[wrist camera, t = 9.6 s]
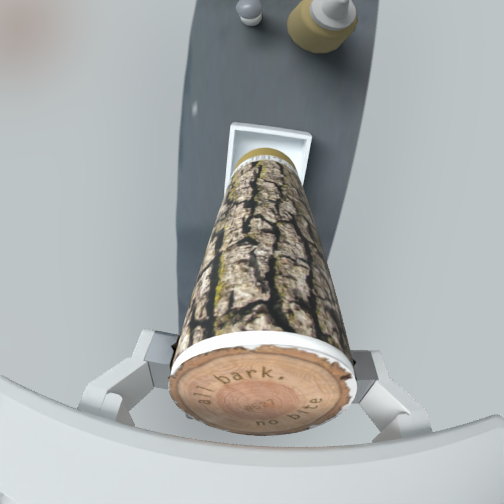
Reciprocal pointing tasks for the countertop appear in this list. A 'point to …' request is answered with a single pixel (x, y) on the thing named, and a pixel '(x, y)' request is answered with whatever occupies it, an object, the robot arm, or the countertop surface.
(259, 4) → the sample vial
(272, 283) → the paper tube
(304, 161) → the tray
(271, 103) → the countertop surface
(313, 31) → the squeeze bottle
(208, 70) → the countertop surface
